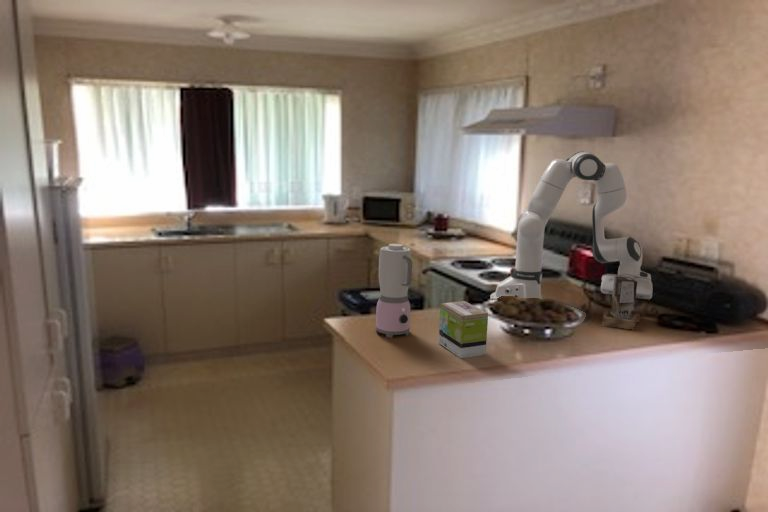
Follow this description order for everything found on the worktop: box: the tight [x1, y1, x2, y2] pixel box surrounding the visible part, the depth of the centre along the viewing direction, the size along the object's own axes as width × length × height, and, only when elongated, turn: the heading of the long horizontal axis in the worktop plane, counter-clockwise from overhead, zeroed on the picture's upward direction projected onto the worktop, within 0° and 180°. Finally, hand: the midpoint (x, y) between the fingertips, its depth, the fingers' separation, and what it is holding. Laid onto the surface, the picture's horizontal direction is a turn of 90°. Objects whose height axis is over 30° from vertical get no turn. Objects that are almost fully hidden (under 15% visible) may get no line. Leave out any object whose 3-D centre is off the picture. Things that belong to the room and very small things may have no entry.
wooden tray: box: [601, 308, 641, 331], centre depth 232 cm, size 14×13×4 cm
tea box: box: [438, 300, 489, 359], centre depth 197 cm, size 15×10×15 cm
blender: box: [375, 243, 413, 339], centre depth 209 cm, size 16×12×32 cm
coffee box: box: [610, 277, 637, 320], centre depth 240 cm, size 9×6×16 cm
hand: (624, 303), depth 245 cm, fingers closed
